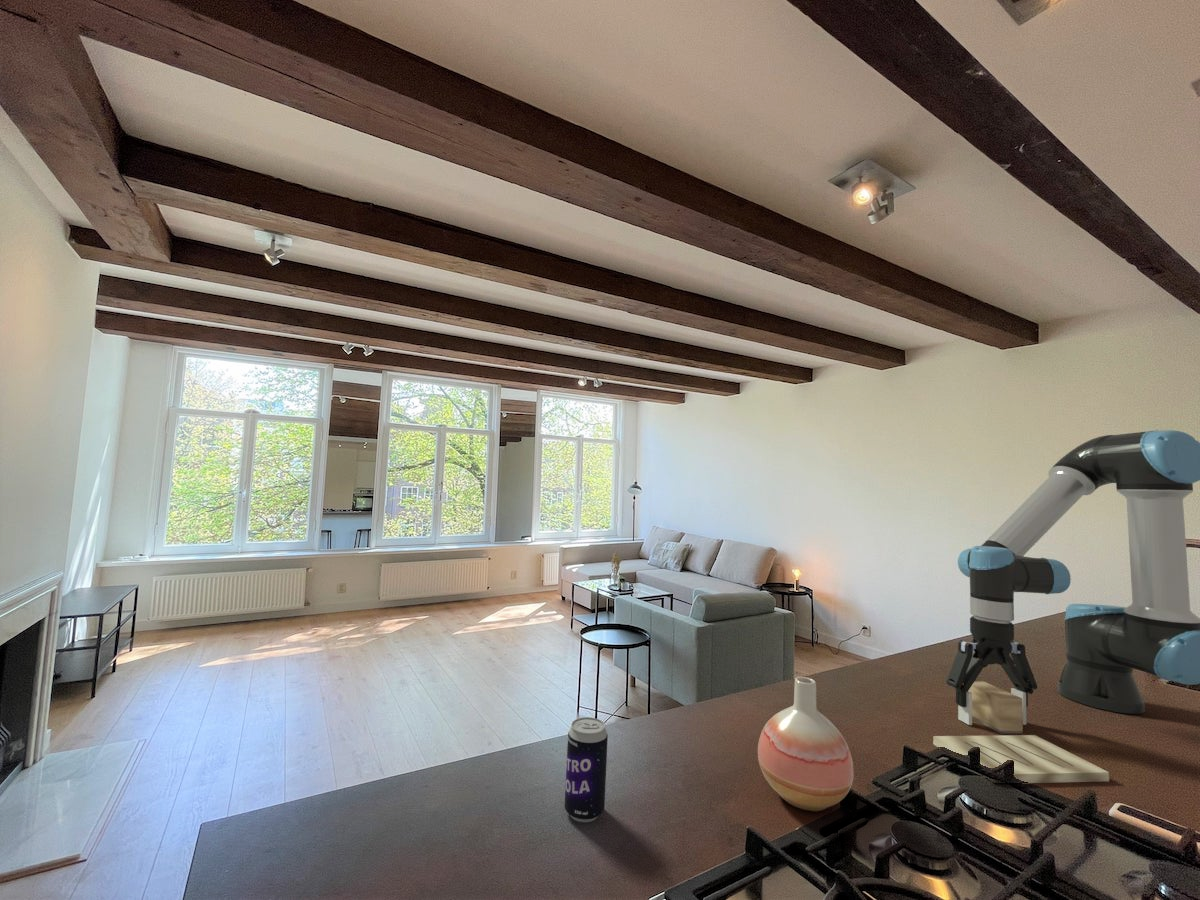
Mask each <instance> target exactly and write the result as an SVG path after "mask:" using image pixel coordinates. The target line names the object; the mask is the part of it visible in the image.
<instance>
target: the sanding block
mask: <svg viewBox="0 0 1200 900" xmlns="http://www.w3.org/2000/svg"><path fill="white" fill-rule="evenodd" d="M968 691H969V692H971V693H972V720H975V721H977V722H979V723H980V724H982V725H984V726H986V727H988V728H990V729H992V730H993V731H996V732H997V733H999V734H1000V735H1001V734H1003V735H1004V734H1023V733H1024V732H1023V731H1024V730H1023V729H1024V725H1023V710H1022V698H1020V697H1018V696H1016V695H1013V694H1011V692H1009V691H1006V690H1004V689H1002V688H1000V687H997V686H995V685H993V684H990V683H988V682H986V681H974V683H973V684H972V686H971V687H970V689H969V690H968Z"/></svg>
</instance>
